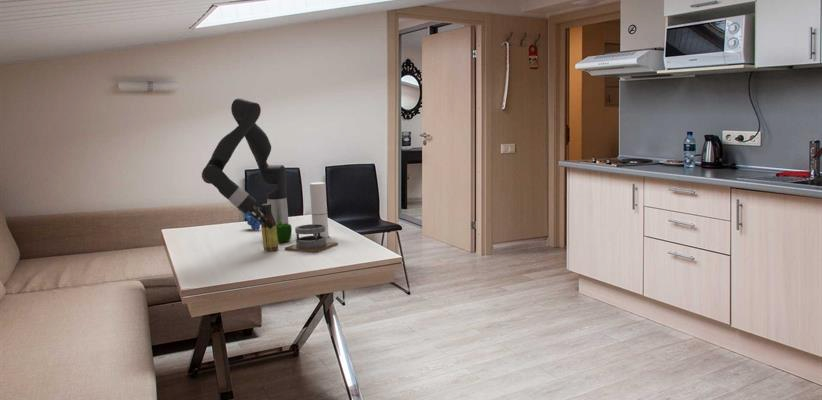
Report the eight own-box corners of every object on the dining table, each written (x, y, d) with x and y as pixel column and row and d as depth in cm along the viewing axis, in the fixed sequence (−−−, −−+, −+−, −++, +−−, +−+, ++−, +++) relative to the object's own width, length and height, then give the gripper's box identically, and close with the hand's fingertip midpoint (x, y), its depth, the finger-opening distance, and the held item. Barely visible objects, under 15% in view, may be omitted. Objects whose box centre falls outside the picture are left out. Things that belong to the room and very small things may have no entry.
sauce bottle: (281, 248, 272) (278, 202, 269) (273, 252, 266) (270, 205, 263) (268, 248, 274) (264, 202, 271) (260, 251, 268) (256, 205, 265)
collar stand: (284, 250, 269) (283, 229, 268) (308, 242, 283) (307, 222, 281) (315, 252, 261) (313, 231, 260) (337, 244, 275) (336, 224, 274)
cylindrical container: (330, 234, 298) (326, 182, 295) (326, 237, 291) (323, 183, 288) (315, 235, 299) (311, 182, 296) (311, 238, 292) (307, 184, 289)
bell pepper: (294, 241, 286) (293, 220, 284) (277, 244, 282) (275, 222, 280) (288, 239, 293) (286, 217, 291) (271, 241, 289) (269, 219, 287)
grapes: (240, 229, 322) (238, 206, 320) (251, 227, 327) (249, 204, 326) (254, 231, 315) (252, 207, 313) (265, 229, 320) (263, 206, 318)
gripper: (246, 195, 258) (277, 221, 262) (249, 191, 272) (279, 216, 276) (234, 209, 258) (265, 235, 262) (237, 204, 272) (267, 229, 276)
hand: (272, 225), depth 269 cm, fingers open, 7 cm apart
